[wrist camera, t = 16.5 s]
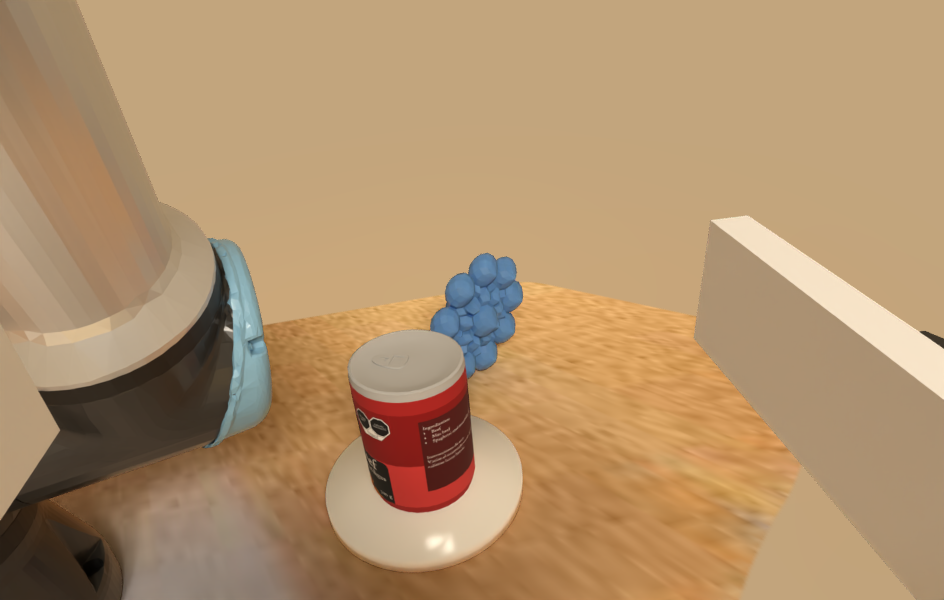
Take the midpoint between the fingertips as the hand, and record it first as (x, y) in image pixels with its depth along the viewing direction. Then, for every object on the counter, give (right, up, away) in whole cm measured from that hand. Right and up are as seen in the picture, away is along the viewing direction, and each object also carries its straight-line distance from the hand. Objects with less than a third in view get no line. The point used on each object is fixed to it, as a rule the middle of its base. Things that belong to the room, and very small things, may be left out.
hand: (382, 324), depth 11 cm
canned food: (-2, -13, +34) cm, 37 cm away
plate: (-2, -14, +35) cm, 37 cm away
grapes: (+2, -6, +48) cm, 49 cm away
